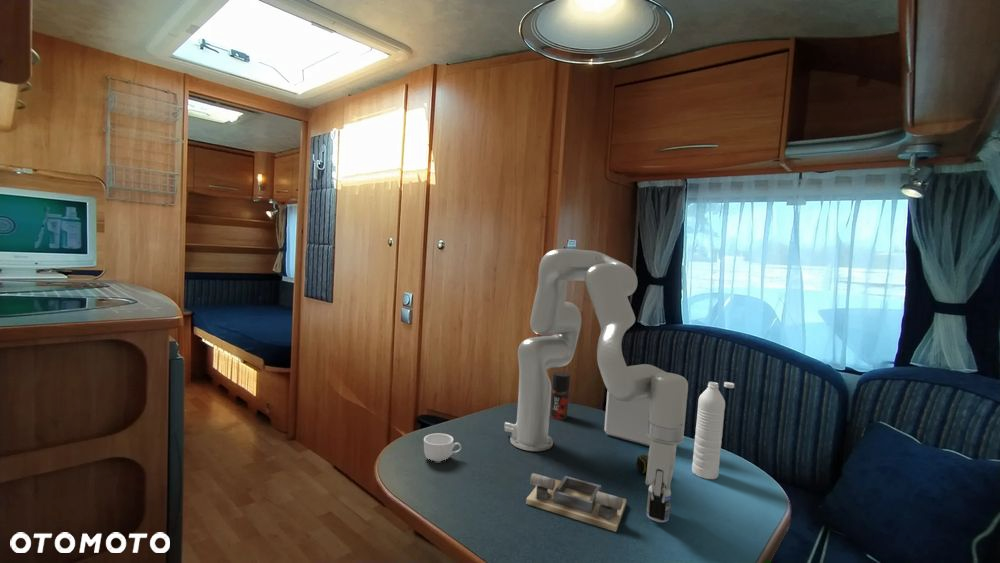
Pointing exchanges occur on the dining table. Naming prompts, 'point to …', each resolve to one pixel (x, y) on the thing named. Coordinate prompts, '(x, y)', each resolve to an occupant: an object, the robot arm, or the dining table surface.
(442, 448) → the teacup
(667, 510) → the pill bottle
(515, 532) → the dining table surface
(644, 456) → the tape measure
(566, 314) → the robot arm
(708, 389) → the water bottle
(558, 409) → the deodorant
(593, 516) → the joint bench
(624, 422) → the bevelled white case
